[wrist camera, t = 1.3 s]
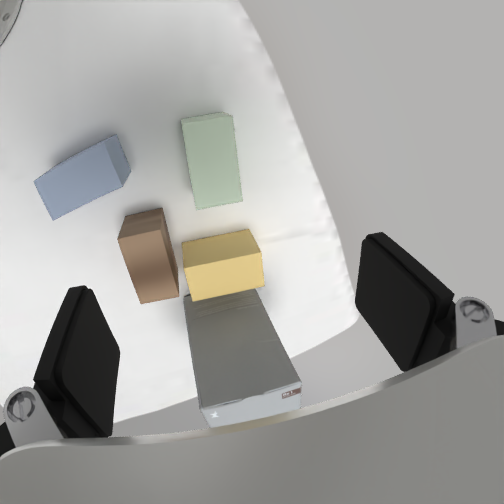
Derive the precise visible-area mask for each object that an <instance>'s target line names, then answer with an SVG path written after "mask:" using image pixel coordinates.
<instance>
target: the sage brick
mask: <svg viewBox="0 0 504 504" xmlns="http://www.w3.org/2000/svg"><path fill="white" fill-rule="evenodd" d="M181 125H182V131H183V137H184V143H185V149H186V155H187V161H188V167H189V173H190V178H191V184H192V190H193V195H194V200H195V206H196V210H200V209H205V208H210V207H215V206H220V205H226V204H231V203H236V202H242V201H243V199H242V191H241V183H240V174H239V166H238V158H237V150H236V141H235V133H234V125H233V116H232V115H229V114H227V113H224V112H221V113H214V114H208V115H202V116H196V117H190V118H185V119H181Z"/></svg>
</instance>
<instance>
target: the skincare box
mask: <svg viewBox="0 0 504 504" xmlns="http://www.w3.org/2000/svg"><path fill="white" fill-rule="evenodd" d="M184 308H185V316H186V323H187V330H188V337H189V344H190V350H191V357H192V363H193V369H194V375H195V381H196V387H197V393H198V400H199V409H200V411H201V413H202V415H203V417H204V419H205V420H206V422H207V424H208V426H209V428H213V427H219V426H224V425H230V424H235V423H241V422H246V421H251V420H255V419H260V418H264V417H269V416H273V415H277V414H281V413H285V412H289V411H293V410H297V409H300V408H301V388H302V387H301V386H302V382H301V380H300V378H299V376H298V374H297V372H296V371H295V369H294V367H293V365H292V363H291V361H290V359H289V357H288V355H287V353H286V351H285V349H284V347H283V345H282V343H281V341H280V339H279V337H278V335H277V333H276V331H275V329H274V326H273V324H272V322H271V320H270V318H269V316H268V314H267V312H266V310H265V308H264V306H263V304H262V302H261V300H260V298H259V295H258V293H257V291H256V289H255V288H254V289H249V290H245V291H240V292H236V293H231V294H226V295H222V296H217V297H212V298H208V299H203V300H198V301H192V297H191V296H187V297H184Z"/></svg>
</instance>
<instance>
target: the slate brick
mask: <svg viewBox="0 0 504 504" xmlns="http://www.w3.org/2000/svg"><path fill="white" fill-rule="evenodd" d="M130 173H131V169H130V167H129V164H128V162H127V160H126V157H125V155H124V152H123V150H122V147H121V145H120V142H119V140H118V137H117V135H114V136H112V137H109V138H107V139H105V140H103V141H101V142H99V143H97V144H95V145H93V146H91V147H89V148H87V149H85V150H83V151H81V152H80V153H78V154H76V155H74V156H72V157H70V158H68V159H67V160H65V161H63V162H61V163H60V164H58V165H56V166H54V167H53V168H51V169H50V170H49V171H47V172H46V173H44V174H43V175H42V176H40V177H39V178H38V179H36V180H35V181H34V184H35V186H36V188H37V190H38V192H39V194H40V196H41V198H42V200H43V202H44V204H45V206H46V208H47V210H48V212H49V214H50V216H51V218H52V220H55V219H57V218H59V217H61V216H63V215H65V214H67V213H69V212H71V211H73V210H75V209H76V208H78V207H80V206H82V205H84V204H87V203H89V202H91V201H93V200H95V199H97V198H99V197H101V196H103V195H105V194H107V193H110V192H112V191H114V190H116V189H118V188H121V187H123V185H124V183H125V181H126V180H127V178H128V176H129V174H130Z"/></svg>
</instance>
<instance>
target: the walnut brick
mask: <svg viewBox="0 0 504 504" xmlns="http://www.w3.org/2000/svg"><path fill="white" fill-rule="evenodd" d="M117 240H118V243H119V246H120V249H121V252H122V255H123V257H124V260H125V263H126V266H127V269H128V272H129V274H130V277H131V280H132V282H133V285H134V288H135V290H136V293H137V295H138V298H139V300H140V303H141V304H144V303H150V302H155V301H160V300H165V299H170V298H175V297H179V283H178V267H177V264H176V260H175V256H174V252H173V249H172V245H171V241H170V237H169V233H168V229H167V225H166V221H165V217H164V212H163V208H160V209H155V210H151V211H146V212H142V213H137V214H133V215H129V216H125V219H124V222H123V224H122V227H121V230H120V233H119V236H118V239H117Z"/></svg>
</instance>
